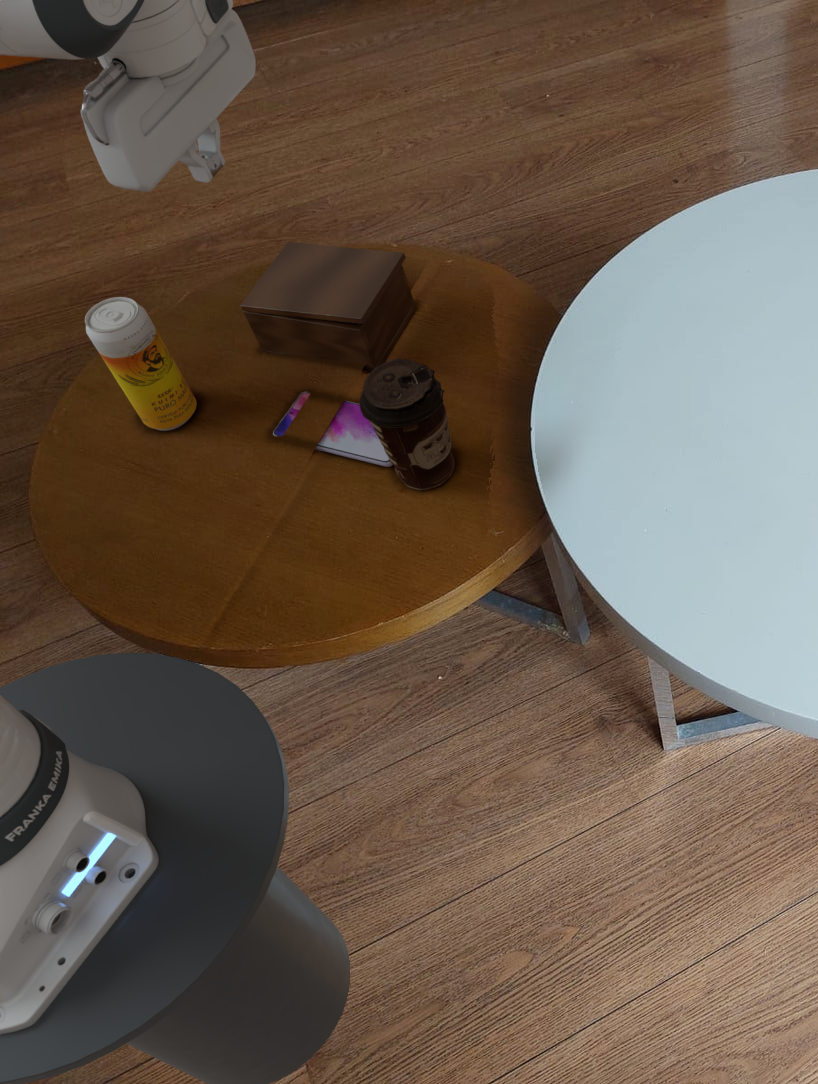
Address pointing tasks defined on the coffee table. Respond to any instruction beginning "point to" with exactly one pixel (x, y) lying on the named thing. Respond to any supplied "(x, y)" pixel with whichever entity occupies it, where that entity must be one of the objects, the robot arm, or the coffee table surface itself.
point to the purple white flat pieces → (343, 433)
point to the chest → (340, 330)
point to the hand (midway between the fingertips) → (211, 173)
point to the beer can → (140, 362)
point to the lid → (324, 282)
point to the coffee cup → (410, 421)
